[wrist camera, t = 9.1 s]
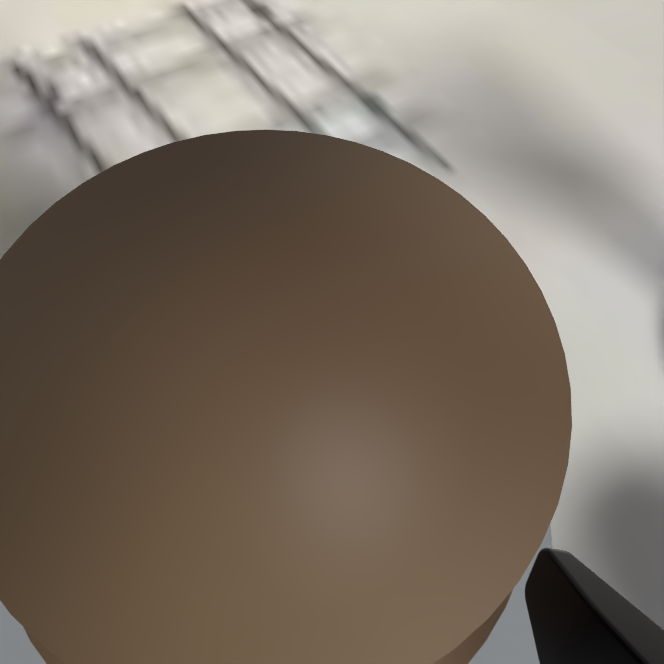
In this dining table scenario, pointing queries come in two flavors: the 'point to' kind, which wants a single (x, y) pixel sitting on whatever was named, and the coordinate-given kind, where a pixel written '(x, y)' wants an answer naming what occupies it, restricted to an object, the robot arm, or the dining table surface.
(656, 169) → the dining table surface
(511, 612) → the slate tile
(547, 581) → the robot arm
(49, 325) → the pepper mill
